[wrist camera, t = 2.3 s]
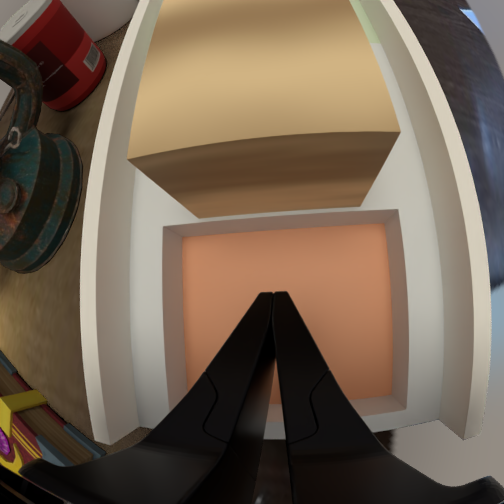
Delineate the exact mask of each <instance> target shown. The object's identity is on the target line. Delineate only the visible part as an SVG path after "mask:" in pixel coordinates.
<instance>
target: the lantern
mask: <svg viewBox="0 0 504 504" xmlns="http://www.w3.org/2000/svg"><path fill="white" fill-rule="evenodd" d="M0 79H1V80H2V81H4V82H5V83H7V84H8V85H9V86H11V87H12V88H14V91H13V93H12V95H11V97H10V99H9V101H8V103H7V105H6V106H5V108H4V110H3V111H2V113H1V115H0V121H1V119H2V117H3V116H4V114H5V112H6V111H7V109H8V107H9V106H10V104H11V103H12V101H13V99H14V96H15V99H16V101H15V105H14V109H13V113H12V117H11V122H10V126H9V129H8V131H7V134H6V135H5V136H4V137H3V138H2V139H1V140H0V263H1V264H2V265H3V266H4V267H6V268H8V269H10V270H13V271H16V272H17V273H22V274H25V273H30V272H34V271H37V270H38V269H39V268H41V267H42V266H43V265H44V264H46V263H47V262H48V261H49V260H50V259H51V258H52V257H53V256H54V254H55V253H56V251H57V250H58V248H59V247H60V245H61V244H62V242H63V241H64V240H65V238H66V235H67V233H68V231H69V229H70V226H71V224H72V222H73V220H74V216H75V213H76V210H77V207H78V202H79V197H80V193H81V188H82V162H81V159H80V155H79V152H78V149H77V147H76V146H75V145H74V144H73V143H72V142H71V141H70V140H69V139H67V138H66V137H62V136H61V135H60V134H52V133H46V134H44V133H42V132H41V131H39V130H38V129H37V127H36V126H37V122H38V119H39V115H40V112H41V105H42V97H43V83H42V76H41V74H40V72H39V69H38V67H37V64H36V63H35V62H34V61H33V60H32V59H30V58H29V57H28V56H27V55H25V54H24V53H23V52H22V51H21V50H19V49H17V48H15V47H13V46H12V45H10V44H8V43H6V42H4V41H2V40H0Z"/></svg>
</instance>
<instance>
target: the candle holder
mask: <svg viewBox="0 0 504 504" xmlns="http://www.w3.org/2000/svg"><path fill="white" fill-rule="evenodd" d="M60 1H61V2H62V3H63V5H64V6H65V7H66V8H67V10H68V11H69V12H70V13H71V14H72V16H73V17H74V18H75V19H76V21H77V22H78V23H79V24H80V25H81V27H82V28H83V29H84V30H85V32H86V33H87V34H88V35H89V37H90V38H91V39H92V40H93V42H96V41H99V40H101V39H103V38H105V37H107V36H109V35H111V34H112V33H114V32H115V31H117V30H118V29H120V28H121V27H122V26H124V25H125V24H126V23H127V22H128V21H129V20H130V19H131V18H132V17H133V15H134V13H135V10H136V8H137V6H138V3H139V2H138V0H60Z"/></svg>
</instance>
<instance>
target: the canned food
mask: <svg viewBox="0 0 504 504" xmlns="http://www.w3.org/2000/svg"><path fill="white" fill-rule="evenodd" d="M0 40H2V41H4V42H6V43H8V44H10V45H12V46H13V47H15V48H17V49H19V50H21V51H22V52H23V53H24V54H25V55H27V56H28V57H29V58H30V59H32V60H33V61H34V62H35V63H36V64H37V67H38V69H39V72H40V74H41V76H42V83H43V97H42V102H43V103H45V104H46V105H47V106H48V107H50V108H51V109H55V110H58V111H64V110H67V109H70V108H72V107H74V106H76V105H77V104H78V103H80V102H81V101H82V100H84V99H85V98H86V97H87V96H88V95H89V94H90V93H91V92H92V91H93V90H94V88H95V87H96V86H97V84H98V83H99V82H100V80H101V78H102V76H103V74H104V71H105V68H106V61H105V58H104V55H103V53H102V51H101V50H100V49H99V48H98V46H97V45H96V44H95V43H94V42H93V40H92V39H91V38H90V37H89V35H88V34H87V33H86V32H85V30H84V29H83V28H82V27H81V25H80V24H79V23H78V22H77V21H76V19H75V18H74V17H73V16H72V14H71V13H70V12H69V11H68V10H67V8H66V7H65V6H64V5H63V3H62V2H61V1H60V0H30V1H29V2H27V3H26V4H25V5H24V6H23V7H21V8H20V9H19V10H18V11H17V12H16V13H15V14H14V15H13V16H12V17H11V18H10V19H9V20H8V21H7V22H6V23H5V25H4V26H3V27H2V28H1V29H0Z"/></svg>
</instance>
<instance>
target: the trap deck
mask: <svg viewBox="0 0 504 504" xmlns="http://www.w3.org/2000/svg"><path fill="white" fill-rule="evenodd" d="M349 1H350V3H351V5H352V7H353V9H354V11H355V13H356V15H357V17H358V19H359V21H360V23H361V25H362V27H363V30H364V32H365V34H366V36H367V38H368V41H369V43H370V45H371V48H372V50H373V52H374V55H375V57H376V60H377V62H378V65H379V67H380V70H381V73H382V75H383V78H384V81H385V83H386V86H387V89H388V92H389V95H390V98H391V101H392V104H393V107H394V110H395V113H396V116H397V120H398V123H399V126H400V130H401V133H400V135H399V137H398V139H397V141H396V142H395V144H394V146H393V148H392V150H391V152H390V154H389V156H388V158H387V159H386V161H385V163H384V165H383V167H382V169H381V170H380V172H379V174H378V176H377V178H376V180H375V181H374V183H373V185H372V187H371V188H370V190H369V192H368V194H367V195H366V197H365V199H364V201H363V202H362V204H361V206H360V207H346V208H328V209H312V210H297V211H283V212H269V213H257V214H245V215H233V216H222V217H211V218H201V219H198V218H197V217H196V216H195V215H193V214H192V213H191V212H190V211H188V210H187V209H186V208H185V207H184V206H182V205H181V204H180V203H179V202H178V201H176V200H175V199H174V198H173V197H171V196H170V195H169V194H168V193H167V192H165V191H164V190H163V189H162V188H160V187H159V186H158V185H157V184H156V183H154V182H153V181H152V180H151V179H150V178H148V177H147V176H146V175H145V174H144V173H142V172H141V171H140V170H139V169H137V168H136V167H135V166H134V165H133V164H131V163H130V162H129V161H128V160H127V153H128V146H129V139H130V133H131V127H132V121H133V116H134V110H135V105H136V100H137V95H138V90H139V86H140V81H141V77H142V73H143V68H144V64H145V60H146V56H147V53H148V49H149V45H150V42H151V38H152V35H153V31H154V28H155V24H156V21H157V18H158V15H159V12H160V9H161V6H162V3H163V0H140V1H139V3H138V6H137V8H136V10H135V13H134V15H133V18H132V20H131V23H130V25H129V28H128V30H127V33H126V35H125V38H124V41H123V44H122V46H121V49H120V52H119V55H118V58H117V61H116V64H115V67H114V70H113V74H112V77H111V80H110V84H109V87H108V91H107V94H106V98H105V102H104V106H103V110H102V114H101V118H100V122H99V126H98V131H97V136H96V140H95V145H94V151H93V156H92V162H91V168H90V174H89V180H88V187H87V195H86V203H85V211H84V221H83V233H82V247H81V269H80V319H81V340H82V354H83V366H84V375H85V384H86V392H87V399H88V406H89V412H90V418H91V424H92V429H93V434H94V439H95V441H98V442H101V443H105V444H108V445H112V444H113V443H115V442H116V441H118V440H120V439H121V438H123V437H124V436H126V435H127V434H129V433H130V432H132V431H133V430H135V429H136V428H138V427H139V426H141V427H146V428H152V429H154V428H155V427H156V426H157V425H158V424H159V423H160V422H161V421H162V420H163V419H164V418H165V417H166V415H167V414H168V413H169V412H170V411H171V410H172V409H173V408H174V407H175V406H176V405H177V404H178V403H179V402H180V401H181V400H182V398H183V397H184V396H185V395H186V394H187V393H188V392H189V390H190V389H191V388H192V386H193V385H194V384H195V383H196V381H197V380H198V379H199V377H200V376H201V374H202V373H203V372H205V369H206V368H207V366H208V365H209V364H210V362H211V361H212V359H213V358H214V357H215V355H216V354H217V353H218V351H219V350H220V348H221V347H222V346H223V344H224V343H225V341H226V340H227V339H228V337H229V336H230V334H231V333H232V331H233V330H234V329H235V327H236V326H237V324H238V323H239V322H240V320H241V319H242V317H243V316H244V314H245V313H246V312H247V310H248V309H249V307H250V306H251V304H252V303H253V302H254V300H255V299H256V297H257V296H258V294H259V293H260V292H273V293H274V292H275V291H287V292H288V293H289V295H290V297H291V298H292V300H293V302H294V304H295V306H296V307H297V309H298V311H299V313H300V315H301V317H302V318H303V320H304V322H305V324H306V326H307V328H308V329H309V331H310V333H311V335H312V337H313V339H314V340H315V342H316V344H317V346H318V348H319V350H320V352H321V353H322V355H323V357H324V359H325V361H326V363H327V365H328V366H329V370H331V372H332V374H333V375H334V377H335V379H336V381H337V383H338V384H339V386H340V388H341V389H342V391H343V393H344V394H345V396H346V397H347V399H348V400H349V402H350V403H351V404H352V406H353V407H354V409H355V410H356V411H357V413H358V414H359V415H360V417H361V418H362V419H363V421H364V422H365V423H366V425H367V426H368V427H369V429H370V430H371V431H372V432H379V431H385V430H391V429H397V428H402V427H407V426H412V425H417V424H422V423H426V422H431V421H435V420H440V421H441V422H442V423H443V424H445V425H446V426H447V427H448V428H449V429H451V430H452V431H453V432H454V433H455V434H457V435H458V436H459V437H460V438H461V439H463V440H466V439H468V438H471V437H474V436H477V435H480V434H481V430H482V424H483V419H484V413H485V406H486V399H487V391H488V382H489V371H490V356H491V295H490V280H489V268H488V259H487V251H486V243H485V237H484V230H483V224H482V219H481V214H480V209H479V204H478V199H477V195H476V190H475V186H474V182H473V178H472V174H471V171H470V167H469V163H468V160H467V156H466V153H465V150H464V147H463V144H462V141H461V138H460V135H459V132H458V129H457V126H456V123H455V120H454V118H453V115H452V113H451V110H450V107H449V105H448V102H447V100H446V98H445V95H444V93H443V91H442V88H441V86H440V84H439V82H438V79H437V77H436V75H435V73H434V71H433V69H432V67H431V65H430V63H429V61H428V59H427V57H426V55H425V53H424V51H423V49H422V47H421V45H420V44H419V42H418V40H417V38H416V36H415V35H414V33H413V31H412V30H411V28H410V26H409V25H408V23H407V21H406V20H405V18H404V16H403V15H402V13H401V12H400V10H399V9H398V7H397V6H396V4H395V3H394V1H393V0H349ZM264 439H286V438H285V429H284V421H283V413H282V405H281V396H280V388H279V380H278V372H277V364H276V362H275V370H274V377H273V383H272V390H271V396H270V402H269V409H268V415H267V421H266V427H265V433H264Z"/></svg>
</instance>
